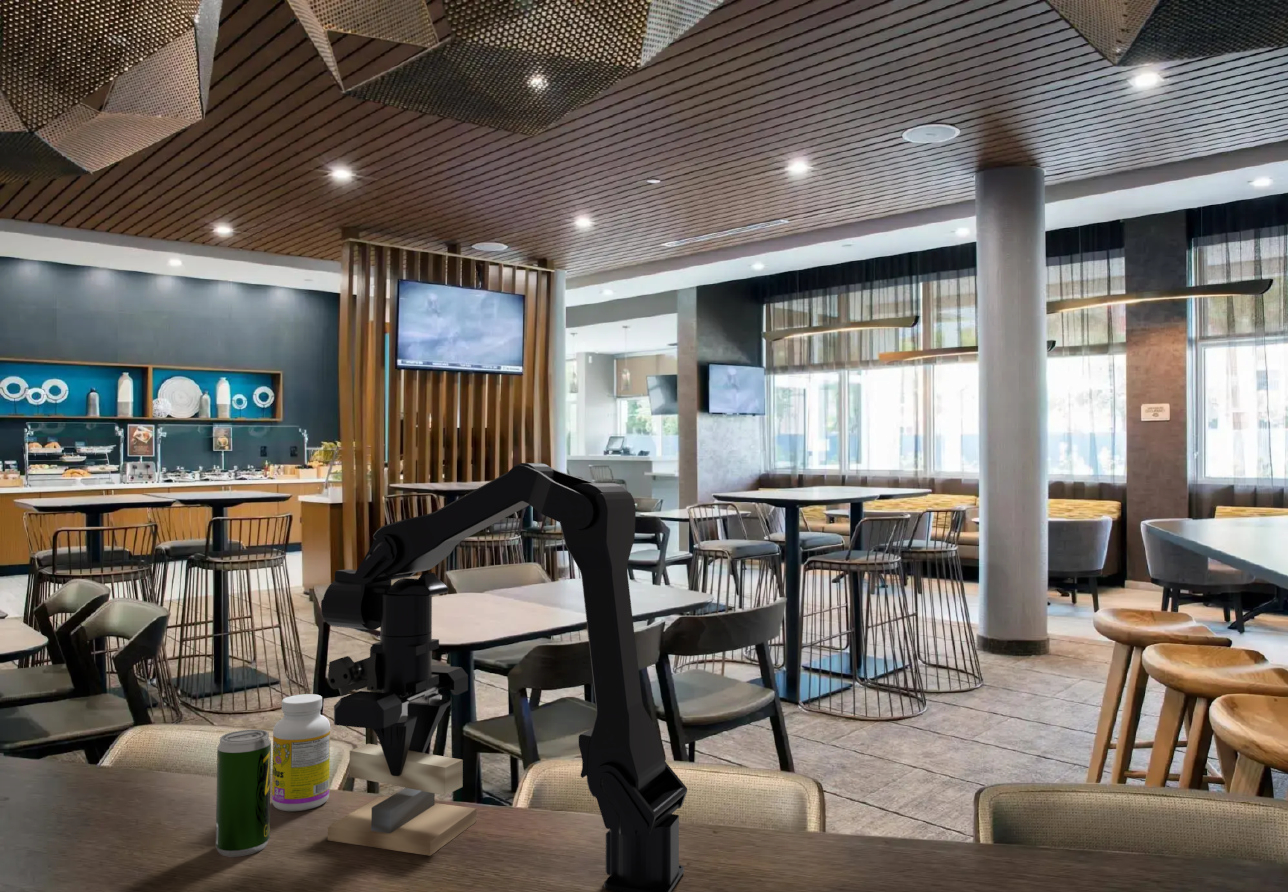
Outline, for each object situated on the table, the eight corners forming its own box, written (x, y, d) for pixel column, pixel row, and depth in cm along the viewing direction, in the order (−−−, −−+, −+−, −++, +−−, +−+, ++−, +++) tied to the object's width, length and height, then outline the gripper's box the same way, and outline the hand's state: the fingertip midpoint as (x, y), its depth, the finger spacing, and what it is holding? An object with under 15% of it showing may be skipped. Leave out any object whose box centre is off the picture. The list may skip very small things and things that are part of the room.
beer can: (219, 862, 94) (221, 745, 94) (211, 844, 98) (213, 733, 99) (274, 850, 97) (275, 737, 97) (264, 833, 101) (265, 726, 102)
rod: (462, 786, 100) (462, 759, 101) (445, 795, 98) (445, 767, 98) (368, 768, 107) (368, 743, 107) (349, 776, 104) (349, 750, 104)
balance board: (476, 821, 105) (476, 786, 105) (430, 855, 95) (430, 817, 95) (380, 808, 109) (381, 775, 109) (327, 840, 99) (328, 803, 100)
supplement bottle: (270, 798, 112) (272, 694, 113) (326, 790, 115) (327, 689, 116) (273, 816, 106) (274, 707, 107) (332, 808, 109) (333, 701, 110)
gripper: (392, 617, 114) (391, 741, 114) (292, 643, 97) (290, 790, 96) (470, 621, 111) (469, 749, 110) (381, 649, 93) (380, 801, 92)
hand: (405, 770), depth 102 cm, fingers closed on rod, 3 cm apart
